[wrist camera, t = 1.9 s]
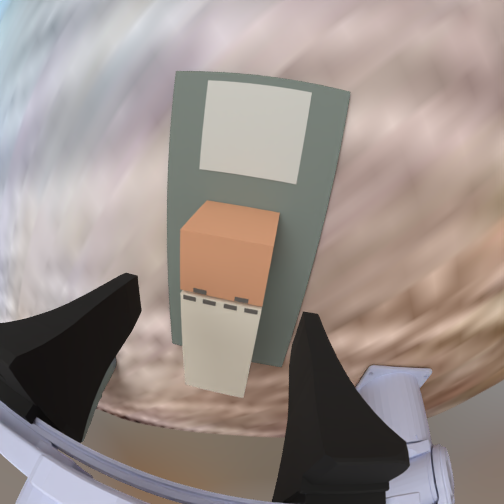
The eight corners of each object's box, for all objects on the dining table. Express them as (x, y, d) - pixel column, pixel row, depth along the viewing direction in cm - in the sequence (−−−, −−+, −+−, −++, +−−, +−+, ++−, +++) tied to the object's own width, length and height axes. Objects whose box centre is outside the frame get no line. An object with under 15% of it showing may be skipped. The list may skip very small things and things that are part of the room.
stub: (270, 263, 21) (262, 307, 17) (203, 251, 21) (180, 289, 17) (279, 212, 19) (273, 247, 15) (206, 200, 19) (179, 229, 15)
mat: (281, 364, 27) (281, 367, 26) (173, 341, 27) (172, 343, 27) (349, 92, 15) (350, 91, 15) (177, 71, 16) (175, 71, 15)
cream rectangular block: (252, 355, 26) (243, 398, 22) (200, 343, 26) (184, 384, 22) (270, 266, 21) (261, 310, 17) (203, 254, 21) (179, 293, 17)
